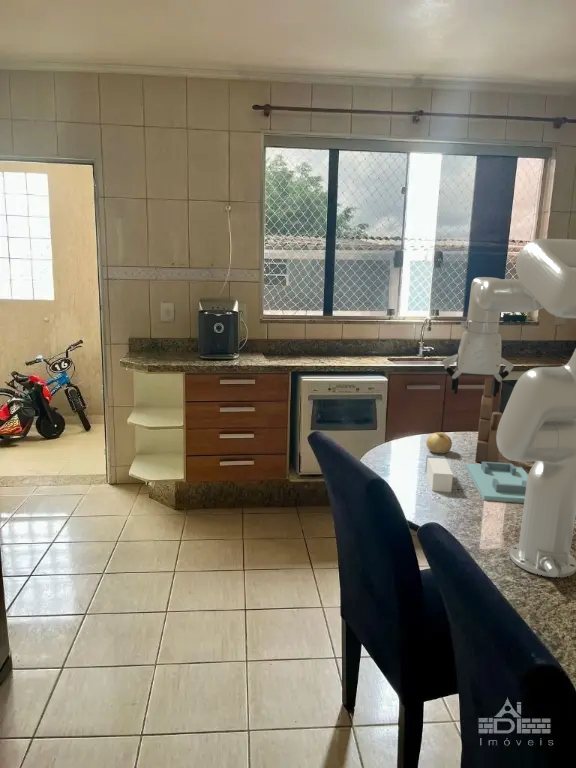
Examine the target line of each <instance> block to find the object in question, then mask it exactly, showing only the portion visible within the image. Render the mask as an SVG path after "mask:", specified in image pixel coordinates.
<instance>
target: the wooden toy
mask: <svg viewBox="0 0 576 768" xmlns="http://www.w3.org/2000/svg"><path fill="white" fill-rule="evenodd" d="M493 379H494V378H485V380H484V387H483V394H482V396H481V401H480V402H481V405H480V413H479V422H478V431H477V440H476V441H477V442H476V449H475V450H476V451H475V463H479V464H482V462H497V463H499V462H498V461H499V454H500V451H499V449H498V446H497V440H496V436H497V429H498V425H499V422H500V420H501V417H502V415H503V413H502V412H499V411H492V410H493V401H494V396H492V394H491V387H492V380H493Z"/></svg>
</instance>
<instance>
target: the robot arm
mask: <svg viewBox="0 0 576 768" xmlns="http://www.w3.org/2000/svg"><path fill="white" fill-rule="evenodd" d="M515 271H516V274H517V278H516V279H512V278H509V279H508V278H506V279H502V278H498V277H489V276H488V277H487V276H482V277H481V276H478V277H475V278H473V280H472V281H471V285H470V293H469V303H468V308H467V309H468V311H467V317H466V318H467V319H466V320H465V321H463V322H462V321H461V322H460V328H463V329H464V330H465V331H463V332H462V334H461V338H460V341H459V346H458V351H457V353H455V354H453V355H451V356H449V357H447V358H443V359H442V364H443V366H444V369H445V370H446V372H447V373H448V374H449V375H450V377H451V379H450V381H451V382H450V390H451V391H452V393H453V395H457V394H458V389H459V377H460V376H461V375H462V373H463V374H473V375H486V376H487V375H491V376H493V377H494V378H492V379H493V380H492V387H491V394H492V396H493V398H497V394H498V393H499V392H500V388H501V387H500V385H501V382H502V381H503V380H504V379H505V378H506V377H508V376H509V374H510V373H511V371H512V370H513V368H514V367H515V365H514V364H513V363H512V362H510V361H508V360H506V359H505V358H503V357H502V335H501V334H499V333H498V332H499V326H500V319H501V313H531V312H536V311H539V310H541V309H544V310H545V311H546V312H547V313H549V314H550V315H553V316H554V317H558V318H563V319H576V239H566V238H536V239H533V240H531V241H529V242H527V243H526V244H525V245H524V246H523V247H522V248H521V249H520V251H519V253H518V255H517V256H516V261H515ZM453 362H455V363H456V367H455V369H452V368H451V366H450V364H451V363H453ZM501 364H502V365H503V366H504V367H505V368H504V369H503V370H502V371H501ZM496 440H497V446H498V449H499V454H501V456H503V457H504V458H506V459H507V460H509V461H513V462H518V463H519V462H520V463H521V462H525V463H526V462H528V463H529V462H530V463H531V462H534V463H533V465H532V466H531V468H530V470H529V472H528V473H527V474H528V478H527V484H526V492H525V500H524V503H523V510H522V517H521V518H522V519H521V523H520V524H521V526H520V533H519V541H518V542H517V543H515V544H513V545H511V547H510V549H509V557H510V559H511V561H512V562H513V563H514V564H515V565H516V566H518V567H519V568H521V569H523V570H525V571H527V572H528V573H529V572H530V573H532V574H534V575H537V574H538V576H541V575H542V577H547V578H556V577H557V578H559V577H560V578H567V576H568V577H570V576H572V575H574V574H575V573H576V558H575V557H573V556H572V554H571V549H572V543H573V542H572V541H573V537H574V528H575V523H576V348H574V351H573V353H572V355H571V358H570V359H569V360H568V362H567V363H566V364H564V365H561V366H539V367H533V368H531V369H529V370H526V371H525V372H524V373H522V374H521V376H519V378H518V379H517V381H516V383H515V385H514V386H513V389H512V392H511V394H510V396H509V398H508V401H507V403H506V406H505V408H504V411H503V413H502V417H501V420H500V422H499V425H498V429H497V436H496ZM557 578H556V579H557Z"/></svg>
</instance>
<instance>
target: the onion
mask: <svg viewBox="0 0 576 768" xmlns="http://www.w3.org/2000/svg"><path fill="white" fill-rule="evenodd" d="M425 443H426V447H427V449H428V450H429V451H430V452H431V453H433V454H440V455H441V454H447V453H449V452H450V451H451V449H452V446H453V441H452V439H451V437H450V436H449V435H448V434H446V433H445V432H442V431H441V432H440V431H439V432H434V433H431V434H430V435H429V436H428V437H427V439H426V442H425Z"/></svg>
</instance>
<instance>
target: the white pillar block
mask: <svg viewBox="0 0 576 768" xmlns="http://www.w3.org/2000/svg"><path fill="white" fill-rule="evenodd" d="M424 471H425V472H426V473H425V474H426V477H427V481H428V483H429V486H430V489H431V491H432V492H441V493H442V492H443V493H444V492H445V493H452V488H453V476H454V474H453V472H452V469H451V468H450V465H449V463H448V461H447V459H446V456H444V455H429V454H428V455H426V460H425V470H424Z"/></svg>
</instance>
